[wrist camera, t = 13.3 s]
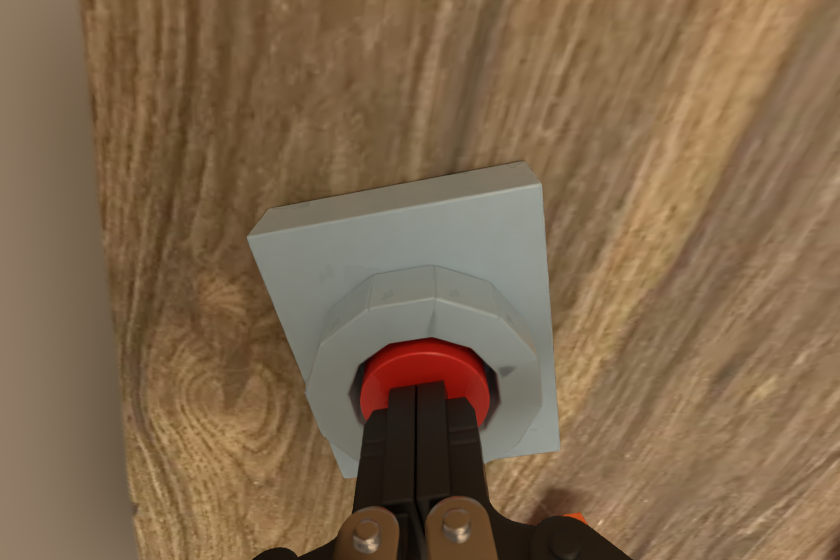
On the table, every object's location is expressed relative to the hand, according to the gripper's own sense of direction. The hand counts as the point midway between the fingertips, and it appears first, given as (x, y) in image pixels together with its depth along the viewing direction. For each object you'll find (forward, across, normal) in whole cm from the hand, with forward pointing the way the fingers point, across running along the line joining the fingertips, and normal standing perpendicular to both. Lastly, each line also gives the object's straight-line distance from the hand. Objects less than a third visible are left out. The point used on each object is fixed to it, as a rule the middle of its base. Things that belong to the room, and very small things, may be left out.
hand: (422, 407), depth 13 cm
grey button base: (+4, 0, 0) cm, 4 cm away
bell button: (+2, 0, 0) cm, 2 cm away
